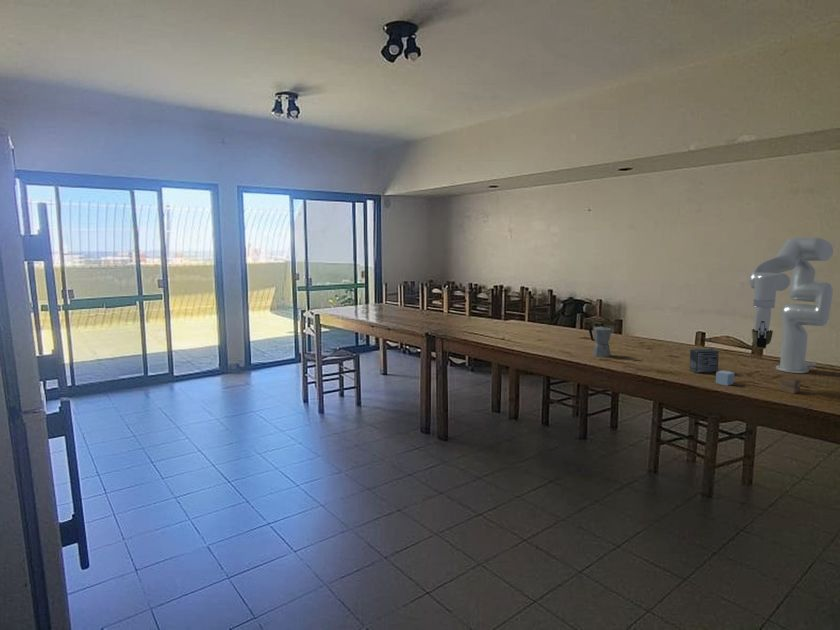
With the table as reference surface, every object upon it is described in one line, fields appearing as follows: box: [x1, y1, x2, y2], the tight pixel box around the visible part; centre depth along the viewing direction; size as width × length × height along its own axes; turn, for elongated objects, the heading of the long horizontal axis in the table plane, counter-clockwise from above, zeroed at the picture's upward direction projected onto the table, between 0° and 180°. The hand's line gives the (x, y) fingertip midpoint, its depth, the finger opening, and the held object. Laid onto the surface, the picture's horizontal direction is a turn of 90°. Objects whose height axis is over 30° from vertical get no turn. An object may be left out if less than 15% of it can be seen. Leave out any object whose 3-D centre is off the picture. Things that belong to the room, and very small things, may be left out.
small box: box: [689, 348, 719, 374], centre depth 241 cm, size 11×6×10 cm, turn 92°
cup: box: [751, 328, 774, 350], centre depth 215 cm, size 8×7×8 cm
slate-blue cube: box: [715, 369, 736, 386], centre depth 221 cm, size 5×5×5 cm
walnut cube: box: [779, 376, 801, 394], centre depth 208 cm, size 5×5×5 cm
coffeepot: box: [588, 322, 614, 358], centre depth 280 cm, size 15×9×18 cm, turn 33°
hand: (761, 345), depth 215 cm, fingers closed on cup, 6 cm apart
